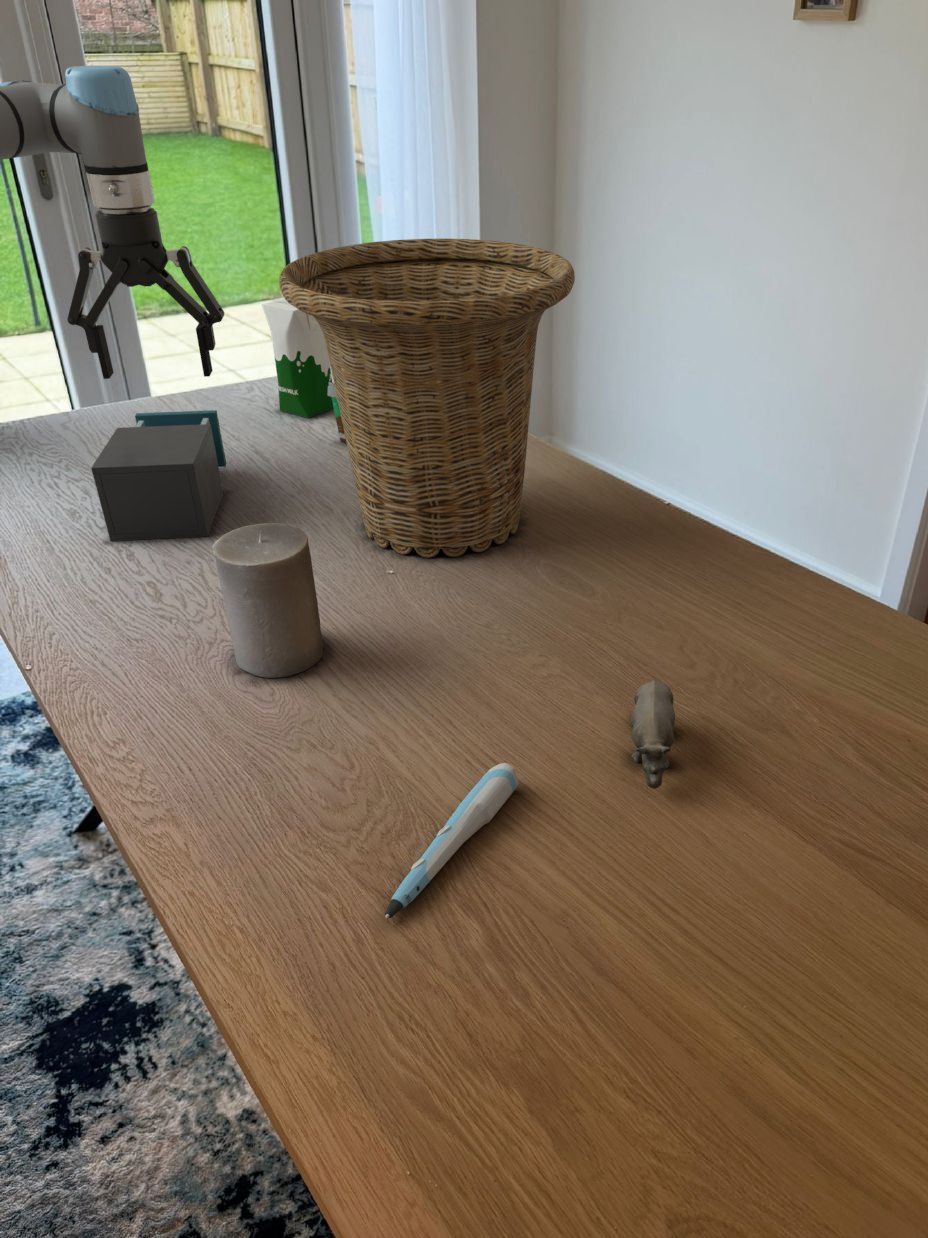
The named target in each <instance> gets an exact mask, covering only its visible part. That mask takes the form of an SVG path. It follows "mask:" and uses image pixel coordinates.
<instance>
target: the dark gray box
mask: <svg viewBox="0 0 928 1238" xmlns="http://www.w3.org/2000/svg"><path fill="white" fill-rule="evenodd" d="M90 469H91V473H92V477H93V480H94V484H95V488H96V492H97V497H98V499H99V503H100V507H101V511H102V514H103V519H104V522H105V526H106V529H107V534H108V538H109V541H110V542H121V541H122V542H123V541H142V540H143V541H144V540H160V539H161V540H162V539H163V540H164V539H180V538H181V539H183V538H203V537H204V538H207V537H209V534H210V531H211V528H212V525H213V522H214V520H215V517H216V515H217V512H218V509H219V506H220V503H221V501H222V498H223V494H224V488H223V482H222V477H221V473H220V467H219V466H218V461H217V456H216V451H215V445H214V440H213V435H212V429H211V425H210V424H201V425H176V426H150V427H135V426H127V427H116V429H115V431H114V432H113V434H112V435H111V437H110V438H109V440H108V441H107V442H106V445H104V447H103V449H102V451H101V452H100V453H99V455H98V457H96V459H95V461H94V463H93V464H92V465H91V467H90Z"/></svg>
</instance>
